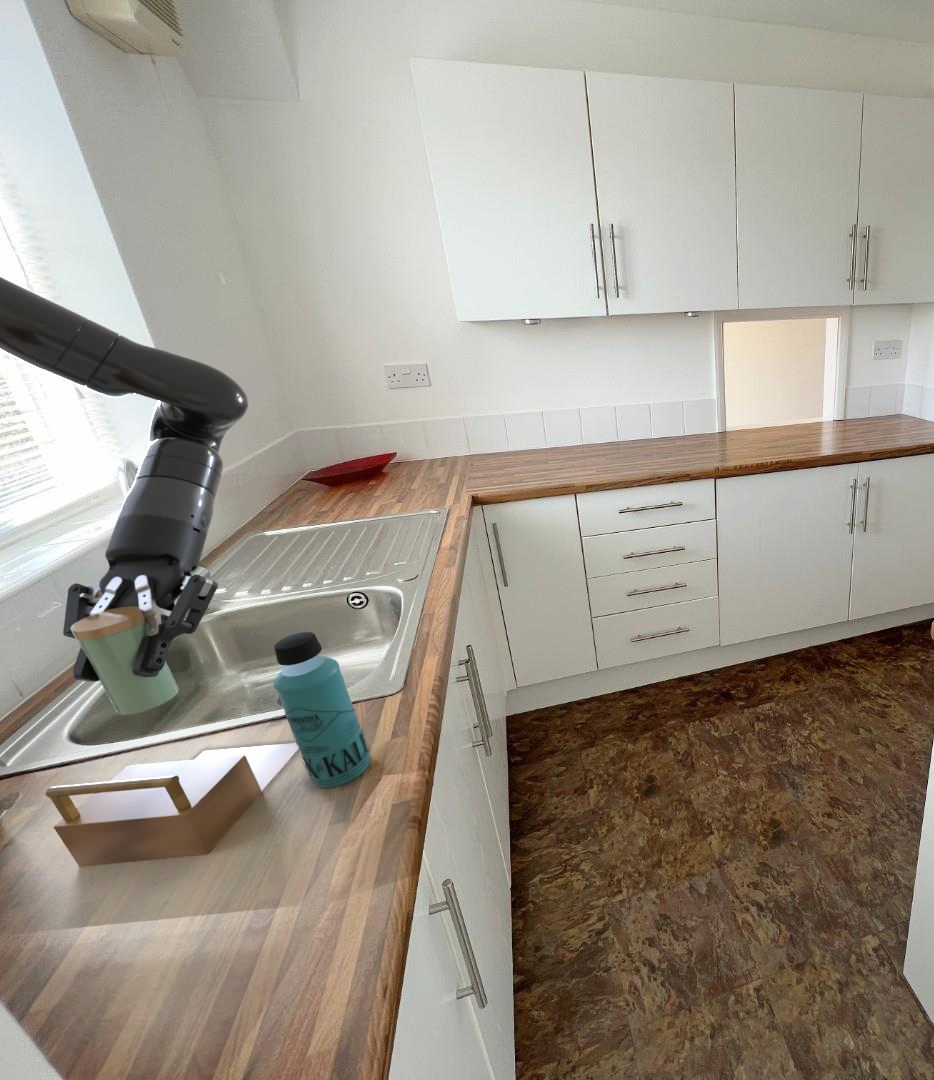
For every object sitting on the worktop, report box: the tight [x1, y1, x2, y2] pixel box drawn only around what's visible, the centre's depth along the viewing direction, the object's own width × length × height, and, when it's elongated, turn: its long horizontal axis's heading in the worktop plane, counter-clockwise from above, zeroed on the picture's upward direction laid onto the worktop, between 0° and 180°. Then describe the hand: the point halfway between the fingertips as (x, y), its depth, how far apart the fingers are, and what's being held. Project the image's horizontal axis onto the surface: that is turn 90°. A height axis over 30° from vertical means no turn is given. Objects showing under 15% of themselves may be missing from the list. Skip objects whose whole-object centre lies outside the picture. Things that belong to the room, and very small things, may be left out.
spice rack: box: [45, 742, 300, 868], centre depth 67 cm, size 13×17×11 cm
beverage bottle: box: [273, 631, 372, 789], centre depth 68 cm, size 6×7×20 cm
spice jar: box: [71, 606, 180, 716], centre depth 61 cm, size 5×5×10 cm
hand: (116, 677), depth 59 cm, fingers closed on spice jar, 5 cm apart
